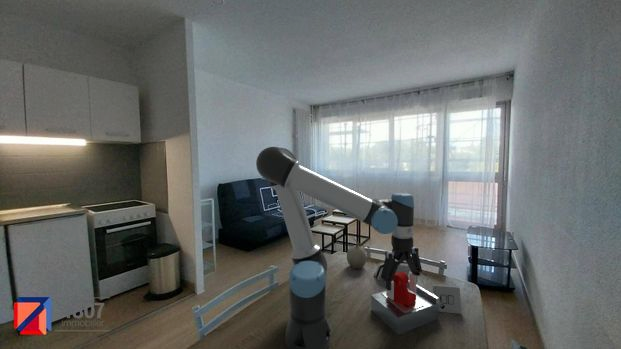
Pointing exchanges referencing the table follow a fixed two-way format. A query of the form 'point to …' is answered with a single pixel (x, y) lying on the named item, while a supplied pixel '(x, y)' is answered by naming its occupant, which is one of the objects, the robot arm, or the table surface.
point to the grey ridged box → (406, 310)
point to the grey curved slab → (401, 268)
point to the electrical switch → (448, 298)
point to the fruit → (356, 256)
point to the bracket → (402, 290)
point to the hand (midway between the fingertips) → (401, 294)
